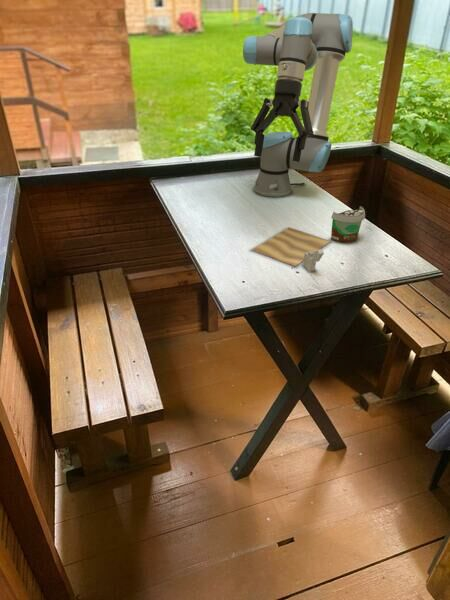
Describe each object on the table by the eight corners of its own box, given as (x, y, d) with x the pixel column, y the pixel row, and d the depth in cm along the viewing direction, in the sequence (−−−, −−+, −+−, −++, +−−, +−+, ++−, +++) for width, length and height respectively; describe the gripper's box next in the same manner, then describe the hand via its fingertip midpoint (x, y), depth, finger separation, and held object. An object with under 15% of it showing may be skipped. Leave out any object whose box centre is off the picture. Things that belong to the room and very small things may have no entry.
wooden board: (288, 228, 155) (289, 227, 155) (329, 241, 147) (330, 241, 146) (252, 250, 140) (252, 249, 140) (295, 266, 132) (295, 266, 132)
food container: (339, 247, 143) (344, 219, 138) (327, 240, 148) (332, 212, 142) (368, 240, 148) (374, 212, 142) (355, 233, 152) (361, 205, 147)
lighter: (302, 265, 133) (305, 241, 129) (307, 264, 134) (310, 240, 129) (315, 276, 128) (319, 251, 123) (320, 275, 128) (324, 250, 124)
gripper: (246, 77, 130) (235, 153, 136) (322, 77, 115) (306, 162, 121) (260, 83, 135) (249, 155, 141) (335, 84, 121) (319, 164, 127)
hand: (276, 158), depth 131 cm, fingers open, 13 cm apart
